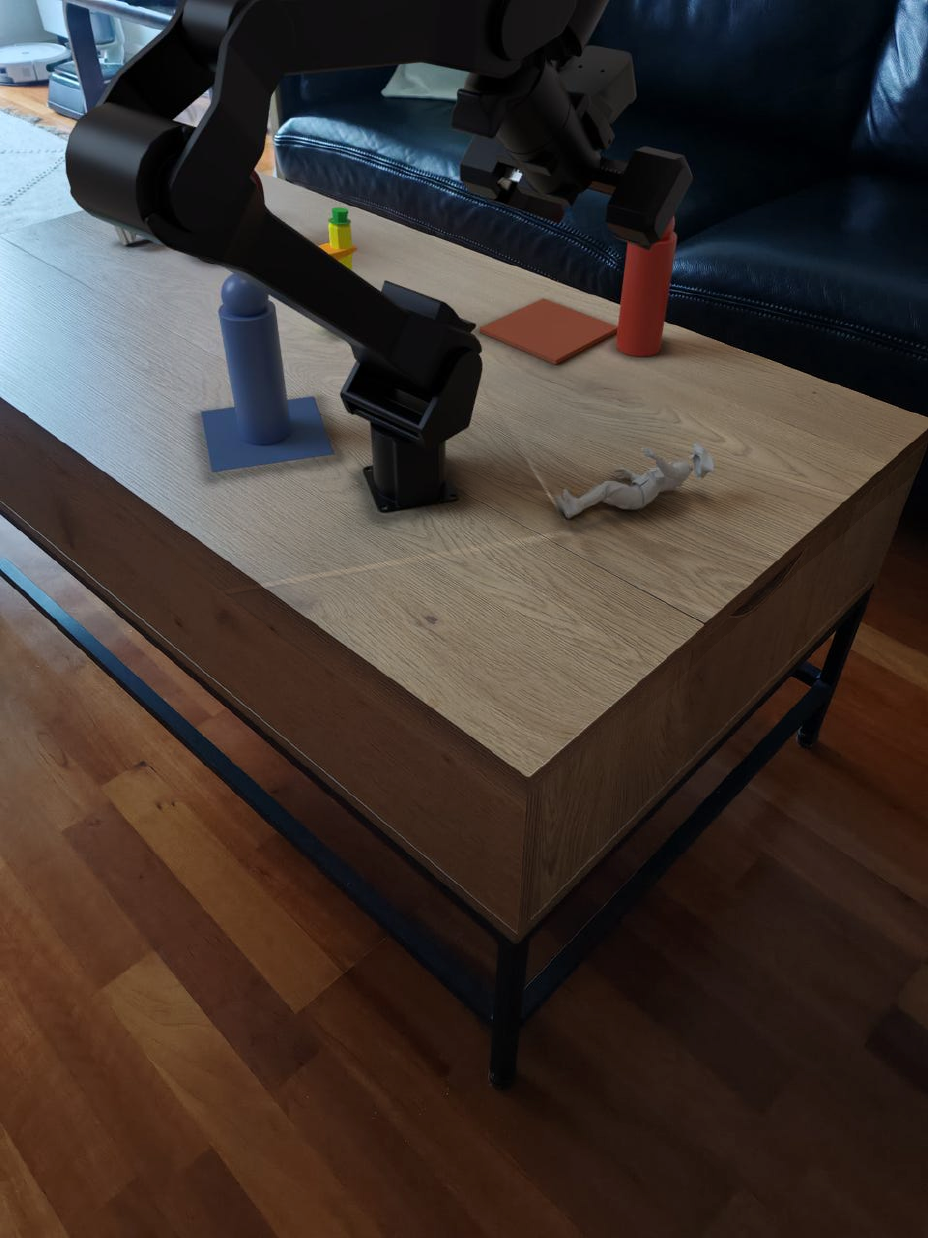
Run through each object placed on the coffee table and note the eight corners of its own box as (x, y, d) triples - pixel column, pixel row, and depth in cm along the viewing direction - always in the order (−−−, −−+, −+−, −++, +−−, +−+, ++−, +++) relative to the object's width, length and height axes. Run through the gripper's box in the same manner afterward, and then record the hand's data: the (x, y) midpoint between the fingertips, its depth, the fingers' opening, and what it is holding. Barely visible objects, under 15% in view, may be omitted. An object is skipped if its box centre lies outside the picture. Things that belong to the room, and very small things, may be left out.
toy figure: (322, 347, 95) (310, 223, 87) (303, 335, 98) (289, 212, 90) (378, 329, 99) (372, 207, 91) (359, 317, 101) (350, 197, 93)
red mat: (555, 364, 93) (555, 359, 93) (479, 332, 98) (479, 327, 98) (618, 331, 99) (619, 326, 98) (543, 302, 104) (543, 297, 103)
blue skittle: (295, 441, 82) (274, 281, 72) (242, 448, 81) (214, 287, 72) (287, 415, 85) (266, 258, 76) (236, 422, 84) (209, 264, 75)
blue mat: (334, 458, 81) (334, 453, 80) (212, 477, 78) (211, 471, 78) (314, 400, 88) (313, 395, 87) (201, 416, 86) (200, 411, 85)
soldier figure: (544, 502, 78) (668, 428, 79) (575, 554, 78) (698, 479, 79) (566, 486, 70) (702, 404, 71) (600, 544, 70) (736, 461, 72)
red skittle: (667, 353, 95) (690, 208, 86) (626, 359, 94) (644, 213, 85) (649, 334, 98) (669, 192, 89) (608, 339, 97) (624, 196, 88)
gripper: (702, 30, 64) (749, 167, 78) (484, -6, 73) (560, 123, 86) (622, 184, 65) (682, 293, 78) (415, 130, 74) (502, 236, 87)
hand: (604, 230), depth 83 cm, fingers open, 9 cm apart
